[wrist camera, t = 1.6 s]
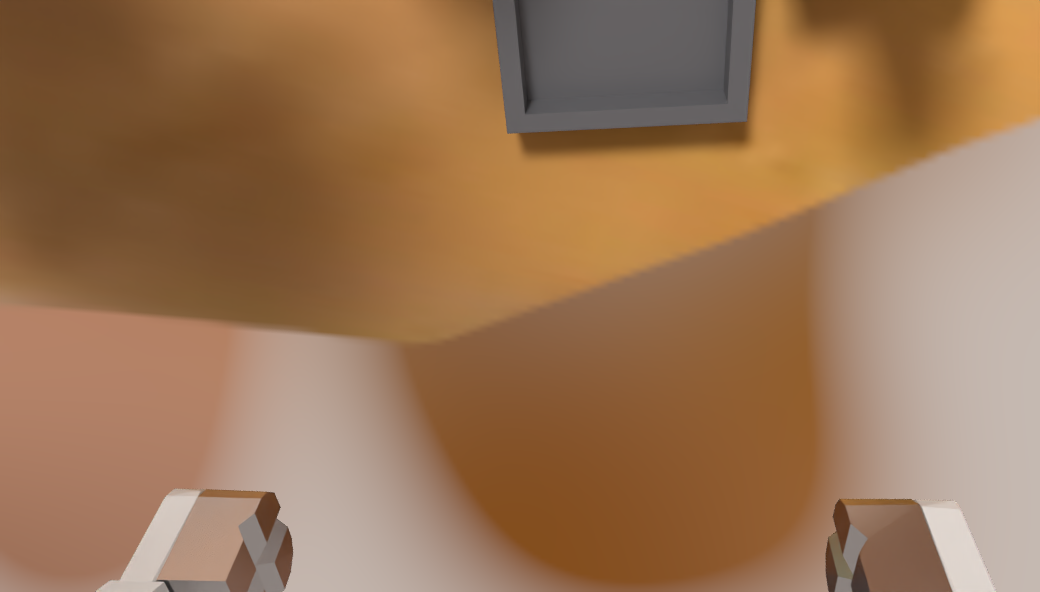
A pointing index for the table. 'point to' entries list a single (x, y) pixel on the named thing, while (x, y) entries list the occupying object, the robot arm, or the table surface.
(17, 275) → the table surface
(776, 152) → the table surface
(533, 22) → the tray
